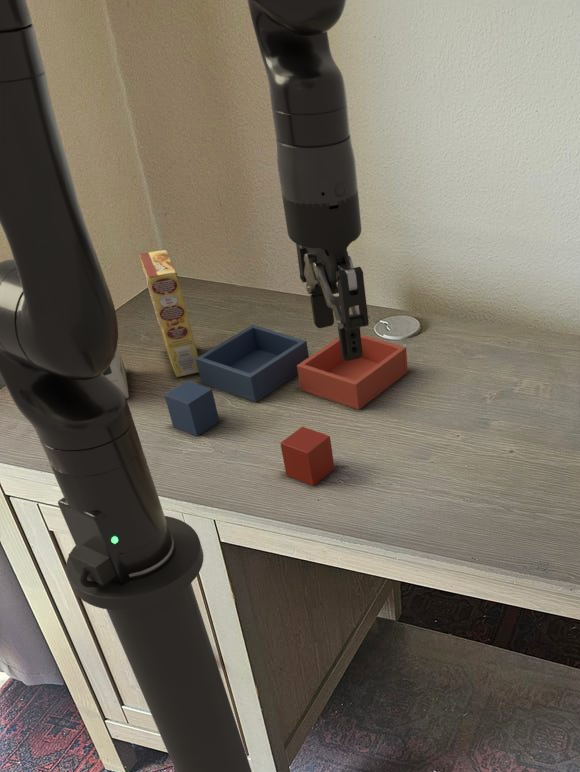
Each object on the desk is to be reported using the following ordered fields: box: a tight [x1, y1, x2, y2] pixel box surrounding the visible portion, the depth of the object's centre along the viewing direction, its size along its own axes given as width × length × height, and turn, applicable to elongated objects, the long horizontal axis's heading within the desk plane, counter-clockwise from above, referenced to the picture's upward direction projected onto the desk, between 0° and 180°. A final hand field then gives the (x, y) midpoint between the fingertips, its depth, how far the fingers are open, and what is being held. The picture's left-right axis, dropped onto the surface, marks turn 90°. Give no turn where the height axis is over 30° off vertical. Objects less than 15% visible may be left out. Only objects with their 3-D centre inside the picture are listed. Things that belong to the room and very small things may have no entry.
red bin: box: [297, 333, 409, 410], centre depth 127 cm, size 13×11×4 cm
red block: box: [280, 426, 336, 487], centre depth 111 cm, size 4×4×5 cm
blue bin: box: [196, 324, 310, 403], centre depth 129 cm, size 13×11×4 cm
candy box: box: [139, 249, 199, 378], centre depth 127 cm, size 9×4×15 cm, turn 24°
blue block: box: [163, 380, 220, 437], centre depth 119 cm, size 4×4×5 cm
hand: (338, 341), depth 97 cm, fingers open, 8 cm apart
